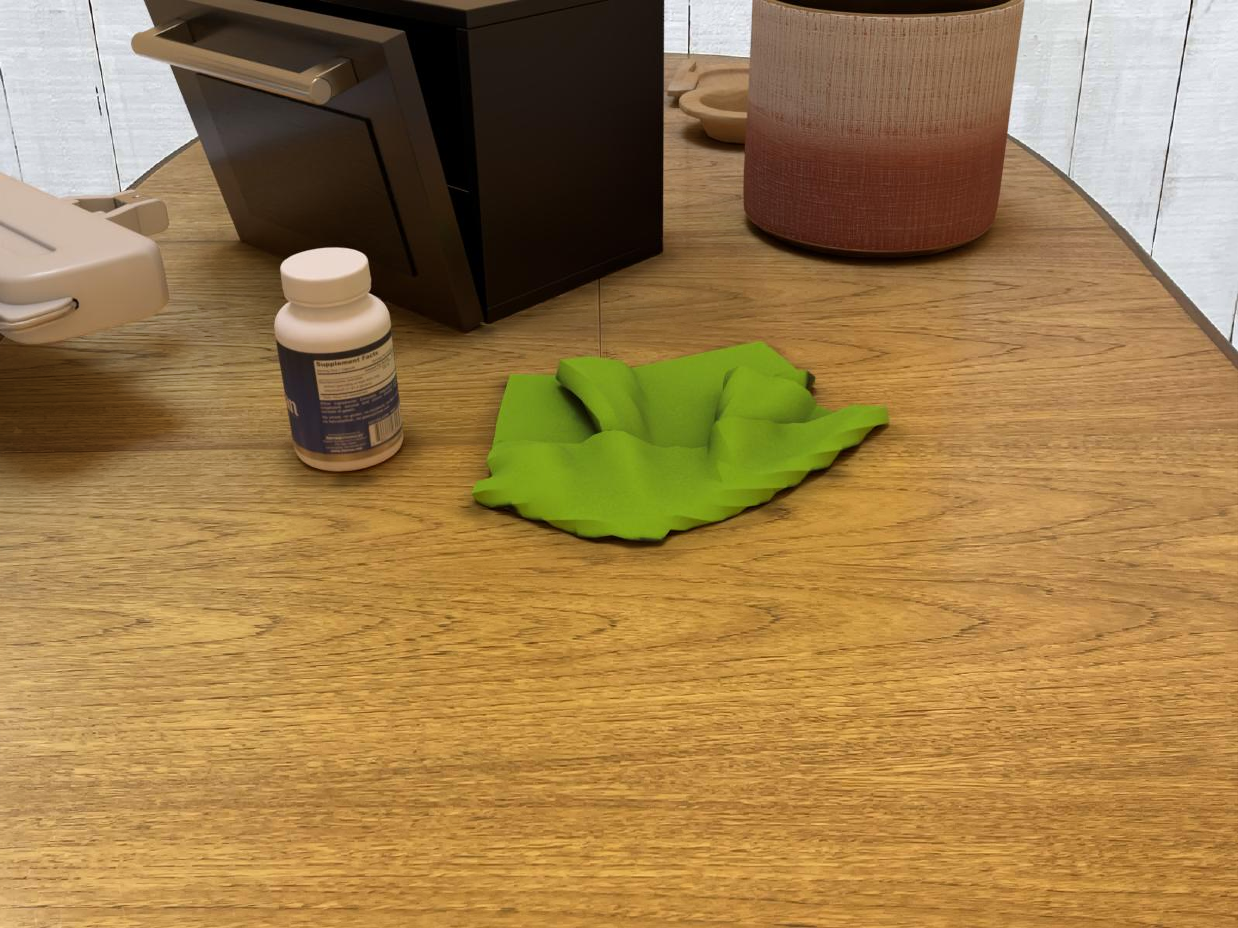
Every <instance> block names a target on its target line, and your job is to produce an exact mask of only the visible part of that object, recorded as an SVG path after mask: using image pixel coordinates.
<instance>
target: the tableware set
mask: <svg viewBox="0 0 1238 928" xmlns="http://www.w3.org/2000/svg"><path fill="white" fill-rule="evenodd" d="M749 66H750V62H727V63H726V62H725V63H716V64H706V65H700V66H697V60H696V59H693V58H686V59H682V60H681V62H680V64H679V65H678V68H677V69H676V71H675V73H674V74H673V75H674V76H673V77H672V79H671V81H670V84H669V85H668V87H667V91H666V92H667V93H666V94H667V97H675V98H676V97H679V98H678V107H679V109H680V111H681V112H682V113H684V115H687V116H689V117H692V118H694V119H697V120H699V121H700V124H701V126H702V127H703V130H704V131H705V133H706V135H707V136H708V137H709V138H711V139H713V140H716V141H719V142H724V143H731V144H739V145H740V144H741V145H742V144H744V145H745V139H746V121H747V104H748V85H749Z"/></svg>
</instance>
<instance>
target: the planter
mask: <svg viewBox="0 0 1238 928" xmlns="http://www.w3.org/2000/svg"><path fill="white" fill-rule="evenodd" d="M1025 3H1026V2H1025V0H752V2H751V22H750V25H751V26H750V27H751V28H750V48H749V49H750V50H749V63H750V66H749V85H748V104H747V121H746V139H745V144H744V161H743V181H742V182H743V183H742V184H743V187H742V189H743V190H742V191H743V193H742V195H743V196H742V197H743V198H742V199H743V200H742V201H743V210H744V213H745V215H746V216H747V218H748V219H749V220H750V221H751V222H752V223H753V225H755V226H756V227H758V229H760V230H761V231H762V232H764V233H765V234H768V235H769V236H771V237H774V238H775V239H778V240H780V241H782V242H785V243H786V244H790V245H791V246H795V247H798V248H802V249H805V250H809V251H814V252H819V253H823V254H828V255H835V256H844V257H852V258H866V259H899V258H910V257H919V256H927V255H928V256H929V255H933V254H938V253H942V252H946V251H949V250H953V249H956V248H959V247H962V246H964V245H966V244H968V243H970V242H972V241H974V240H976V239H977V238H979V237H980V236H982V235H983V234H985V233H986V232H987V231H988V230H989V229H990V228H991V227H992V226H993V224H994V222H995V219H996V215H997V210H998V207H999V200H1000V194H1001V186H1002V180H1003V171H1004V165H1005V157H1006V148H1007V140H1008V132H1009V123H1010V116H1011V107H1012V100H1013V94H1014V93H1013V92H1014V85H1015V76H1016V69H1017V61H1018V55H1019V47H1020V39H1021V31H1022V25H1023V17H1024V12H1025V11H1024V10H1025Z"/></svg>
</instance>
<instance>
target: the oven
mask: <svg viewBox="0 0 1238 928" xmlns="http://www.w3.org/2000/svg"><path fill="white" fill-rule="evenodd" d="M254 1H259V2H264V3H269V4H274V5H279V6H284V7H288V8H293V9H298V10H303V11H308V12H313V13H318V14H323V15H328V16H333V17H338V18H342V19H347V20H352V21H357V22H362V23H367V24H372V25H377V26H382V27H387V28H392V29H397V30H401V31H405V33H406V36H407V40H408V44H409V47H410V51H411V55H412V58H413V62H414V66H415V69H416V73H417V76H418V80H419V84H420V87H421V91H422V95H423V98H424V102H425V106H426V109H427V113H428V117H429V120H430V124H431V127H432V131H433V135H434V138H435V142H436V146H437V149H438V153H439V157H440V160H441V164H442V167H443V171H444V175H445V178H446V182H447V186H448V189H449V193H450V197H451V200H452V204H453V208H454V211H455V215H456V218H457V222H458V226H459V229H460V233H461V237H462V240H463V244H464V248H465V251H466V255H467V258H468V262H469V266H470V269H471V273H472V277H473V280H474V284H475V288H476V291H477V295H478V299H479V302H480V306H481V309H482V313H483V317H484V321H483V322H484V323H486V324H490V323H493V322H495V321H498V320H500V319H503V318H505V317H508V316H510V315H512V314H515V313H517V312H520V311H523V310H525V309H527V308H529V307H532V306H534V305H537V304H539V303H542V302H544V301H547V300H548V299H551V298H554V297H556V296H558V295H561V294H564V293H566V292H568V291H571V290H573V289H576V288H578V287H580V286H583V285H585V284H587V283H590V282H593V281H595V280H598V279H600V278H602V277H604V276H607V275H610V274H611V273H614V272H617V271H619V270H622V269H625V268H627V267H630V266H632V265H634V264H637V263H639V262H641V261H643V260H646V259H649V258H651V257H653V256H656V255H658V254H661V253H663V252H664V166H665V165H664V164H665V162H664V161H665V160H664V156H665V155H664V153H665V152H664V150H665V149H664V148H665V142H664V141H665V139H664V138H665V137H664V136H665V131H664V130H665V0H254Z"/></svg>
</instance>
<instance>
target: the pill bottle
mask: <svg viewBox="0 0 1238 928" xmlns="http://www.w3.org/2000/svg"><path fill="white" fill-rule="evenodd" d="M279 269H280V271H279V272H280V279H281V287H282V292H283V295H284V298H285V299H286V300H287V301H288V302H286V303H285V304H284V305H283V306H282V307H281V308H280V309H279V311H278V312H277V314H276V316H275V318H274V323H273V328H274V336H275V337H274V338H275V344H276V351H277V356H278V361H279V368H280V373H281V379H282V385H283V392H284V397H285V402H286V409H287V414H288V420H289V427H290V432H291V438H292V443H293V448H294V451H295V453H296V455H297V457H298V458H299V459H300V460H301V461H302V462H303V463H305V464H306V465H308V466H310V467H312V468H315V469H318V470H322V471H328V472H350V471H356V470H361V469H362V470H363V469H366V468H369V467H372V466H375V465H378V464H380V463H383V462H384V461H386V460H388V459H390V458H391V457H393V456H394V455H395V454H397V452H398V451H399V449H401V446H402V444H403V441H404V428H403V427H404V426H403V418H402V411H401V401H400V394H399V393H400V392H399V384H398V383H399V382H398V376H397V375H398V374H397V367H396V366H397V365H396V358H395V350H394V340H393V330H392V321H391V315H390V312H389V310H388V307H387V306H386V304H385V303H384V302H383V301H382V299H381V298H379V297H376V296H374V295H372V294H369V293H368V292H369V291H370V289H371V277H370V271H369V264H368V259H367V257H366V256H365V255H364V254H363V253H361V252H359V251H356V250H353V249H348V248H320V249H314V250H308V251H304V252H301V253H298V254H295V255H293V256H291V257H289V258H288V259H284V260H283V261H282V263H281V264H280V268H279Z"/></svg>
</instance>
